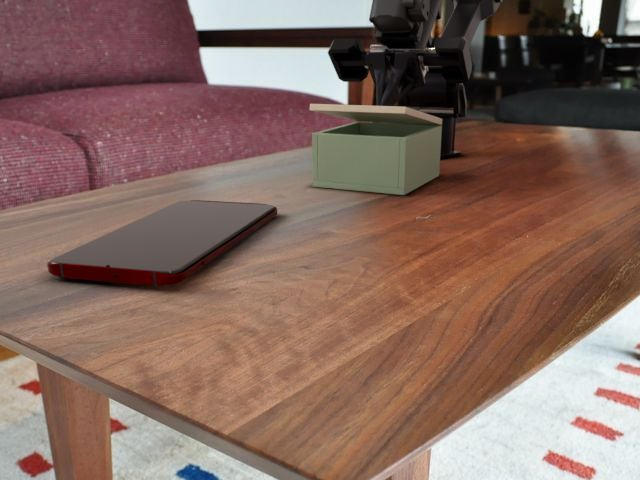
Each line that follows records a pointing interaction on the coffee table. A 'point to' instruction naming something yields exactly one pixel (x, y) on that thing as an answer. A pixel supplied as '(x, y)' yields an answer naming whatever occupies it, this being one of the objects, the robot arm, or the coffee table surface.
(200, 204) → the smartphone
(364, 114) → the cover
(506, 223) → the coffee table surface
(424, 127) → the case
